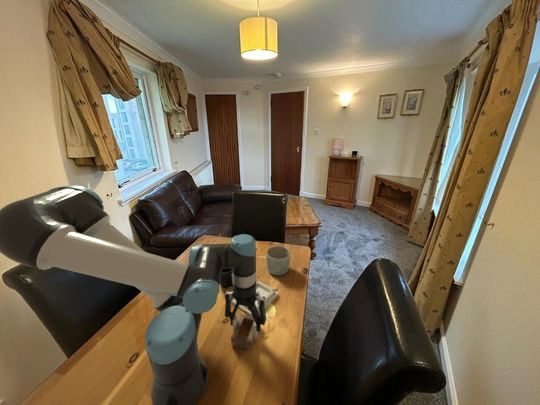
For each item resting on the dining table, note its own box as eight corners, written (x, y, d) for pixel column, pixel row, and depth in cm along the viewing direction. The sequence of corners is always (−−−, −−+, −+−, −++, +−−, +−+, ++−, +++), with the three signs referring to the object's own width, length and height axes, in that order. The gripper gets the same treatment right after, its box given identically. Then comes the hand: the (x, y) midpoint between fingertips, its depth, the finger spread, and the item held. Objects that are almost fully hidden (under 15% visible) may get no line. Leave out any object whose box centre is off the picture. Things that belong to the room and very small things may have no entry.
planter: (290, 264, 117) (291, 247, 113) (288, 279, 105) (289, 260, 102) (268, 262, 119) (268, 244, 115) (263, 276, 107) (263, 257, 104)
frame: (251, 349, 72) (250, 342, 70) (231, 345, 73) (230, 337, 72) (259, 324, 81) (259, 317, 80) (241, 321, 82) (241, 313, 81)
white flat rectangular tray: (254, 318, 84) (254, 313, 83) (231, 302, 91) (231, 297, 90) (278, 294, 96) (278, 290, 95) (256, 282, 103) (256, 278, 102)
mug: (228, 297, 94) (227, 280, 91) (214, 284, 102) (212, 267, 99) (243, 288, 99) (242, 271, 96) (229, 276, 107) (227, 260, 104)
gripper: (276, 278, 71) (275, 330, 78) (220, 269, 75) (224, 319, 82) (272, 294, 64) (270, 350, 71) (210, 283, 68) (215, 337, 75)
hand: (245, 333), depth 77 cm, fingers closed on frame, 7 cm apart
